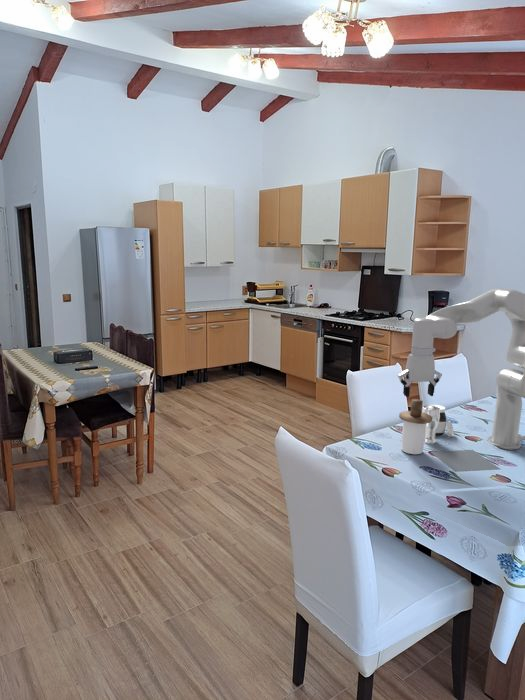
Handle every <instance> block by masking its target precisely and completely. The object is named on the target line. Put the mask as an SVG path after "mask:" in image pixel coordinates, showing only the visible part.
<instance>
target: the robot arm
mask: <svg viewBox="0 0 525 700" xmlns="http://www.w3.org/2000/svg"><path fill="white" fill-rule="evenodd" d="M498 312H504V314H505V316H506V317H507V318H508V320H509V321H510V323H511V334H510V335H511V336H510V339H509V343H508V348H507V351H506V360H507V363H509V364H510V365H512V366H514V367H518V368H521V369H523V370H519V369H515V368H511V367H509V368H508V367H507V368H504V369H501V370H500V371H499V372H498V374H497V376H496V380H495V385H496V401H495V402H496V403H495V410H494V416H493V425H492V432H491V436H489V437H487V440H486V441H487V442H488V443H489V444H490V445H493V446H495V447H496V448H498V449H502V450H510V451H511V450H512V451H513V450H519V449H520V448H521V447H522V443H521V442H522V441H525V435H522V434H519V430H520V423H521V416H522V410H523V400H522V399H525V293H523V292H521V291H518V290H516V289H510V288H502V287H497V288H492V289H490V290H489V291H486V292H484V293H482V294H480V295H478V296H476V297H474V298H472V299H470V300H468V301H464V302H461V303H457V304H453V305H449V306H445V307H443V308H440V309H438V310H436V311H434V312H431V313H430V314H429V315H427V316H426V317H417V318H416V317H415V318H414V320H413V325H412V336H411V337H412V339H411V349H410V350H411V351H410V353H409V354H408V356H407V360H406V365H405V370H403V371H402V372H401V373H399V374H397V378H398V380H399V382H400V384H402V385H403V392H402V393H403V395H404V397H405V398H409V397H410V393H411V391H410V389H411V387H410V385H411V384H412V383H424V382H428V384H427V395H429V396H430V397H433V396H434V393H435V387H436V386H437V383H439V382H440V380H441V378H442V376H443V373H441V372H439V371H437V370H436V369H435V368H436V367H435V366H436V362H435V357H434V355H433V354H434V352H436V351H437V349H436V347H434V338H435V339H436V338H437V339H443V340H445V339H451V338H453V337H454V336H456V334H457V333H458V325H457V324H470V323H471V324H472V323H477V322H478V323H479V322H480V321H482V320H484V319H486V318H488V317H490V316H492V315H495V314H496V313H498ZM435 375H436V376H435ZM404 378H405V379H404Z"/></svg>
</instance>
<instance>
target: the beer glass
mask: <svg viewBox="0 0 525 700" xmlns="http://www.w3.org/2000/svg"><path fill="white" fill-rule="evenodd" d="M434 405H435V404H425V405H422V412H423V413H426V414H429V415H430V416H432V422H430V423H426V432H425V441H424V444H435V443H437V440H436V437H437V436H436V431H437V428H438V424H439V419H440V408H439V407H437V406H434Z"/></svg>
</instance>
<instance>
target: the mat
mask: <svg viewBox="0 0 525 700" xmlns="http://www.w3.org/2000/svg"><path fill="white" fill-rule="evenodd" d="M430 453H431V454H432V455H434V456H435V457H436V458H437V459H439V460H440V461H441V462H443V463H444V464H445V465H446V466H447V467H448V468H450V469H451V470H452V471H453V472H454V473H455V472H471V471H472V472H474V471H477V472H478V471H492V470H493V471H494V470H501V468H500V467H499V466H497V465H495V464H494V463H493V462H491V461H489V460H488V459H487V458H486V457H484V456H482V455H481V454H479V453H478V452H476V450H473V449H460V450H458V449H457V450H440V451H439V450H436V451H435V450H434V451H430Z"/></svg>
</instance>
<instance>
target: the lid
mask: <svg viewBox="0 0 525 700" xmlns="http://www.w3.org/2000/svg"><path fill="white" fill-rule="evenodd" d="M423 401H424V400H422V399H417V398H414V399H412V398H411V404H410V410H404V411H401V412H399V413H398V414H399V415H398V416H399V419H400V420H402V421H403V422H404V421H407V422H411V423H417V424H426V423H430V422H432V416H430V415H429V414H426V413H423V412H422V410H423Z"/></svg>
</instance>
